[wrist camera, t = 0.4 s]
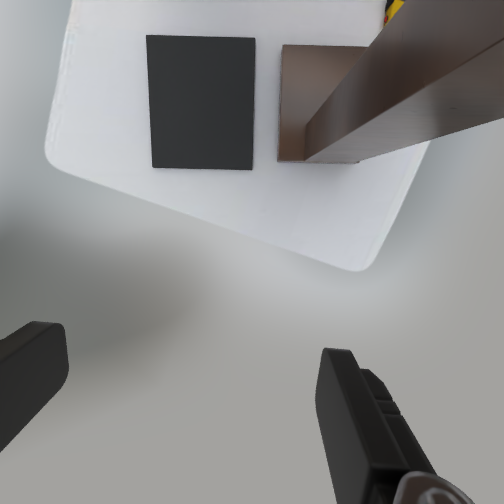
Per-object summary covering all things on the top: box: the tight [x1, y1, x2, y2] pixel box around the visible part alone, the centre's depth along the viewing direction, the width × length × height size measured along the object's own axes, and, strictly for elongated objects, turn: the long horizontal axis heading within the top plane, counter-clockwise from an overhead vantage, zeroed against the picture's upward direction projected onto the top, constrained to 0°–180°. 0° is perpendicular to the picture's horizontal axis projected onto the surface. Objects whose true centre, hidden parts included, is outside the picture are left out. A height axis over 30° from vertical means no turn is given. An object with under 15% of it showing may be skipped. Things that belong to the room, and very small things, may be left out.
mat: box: [146, 35, 255, 170], centre depth 33 cm, size 14×12×1 cm
